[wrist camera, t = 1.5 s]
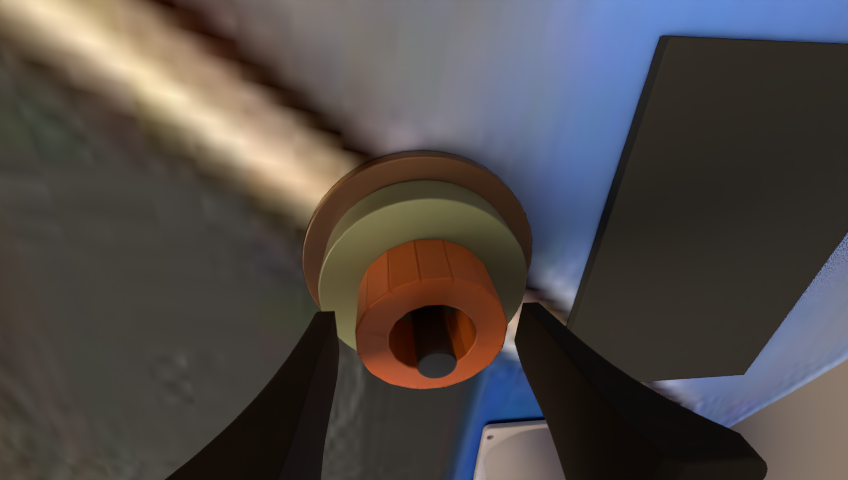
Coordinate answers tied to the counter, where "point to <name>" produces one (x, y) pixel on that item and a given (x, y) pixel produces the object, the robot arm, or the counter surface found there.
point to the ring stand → (415, 238)
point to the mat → (718, 206)
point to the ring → (420, 286)
